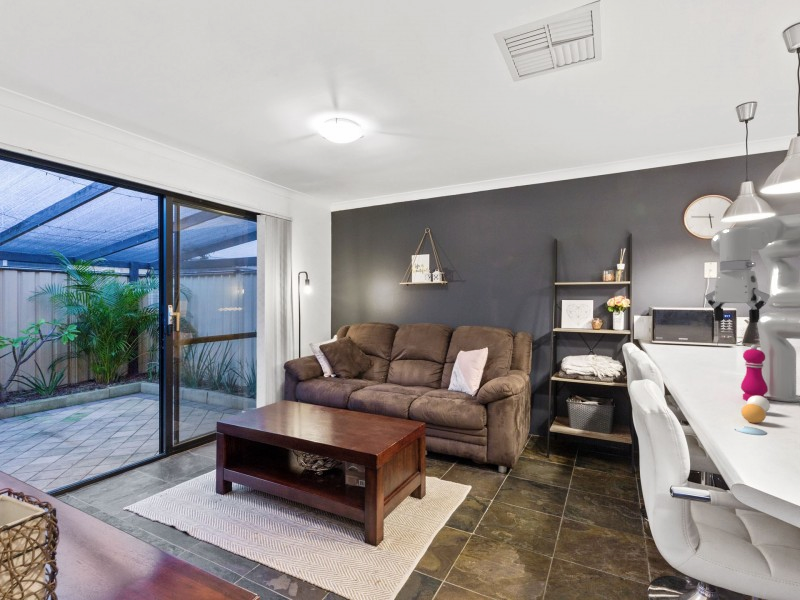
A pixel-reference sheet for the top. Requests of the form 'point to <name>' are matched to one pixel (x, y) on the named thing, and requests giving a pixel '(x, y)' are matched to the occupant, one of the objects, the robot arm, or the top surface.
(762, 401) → the cue ball
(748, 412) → the object ball
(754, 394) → the pepper mill
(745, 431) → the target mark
